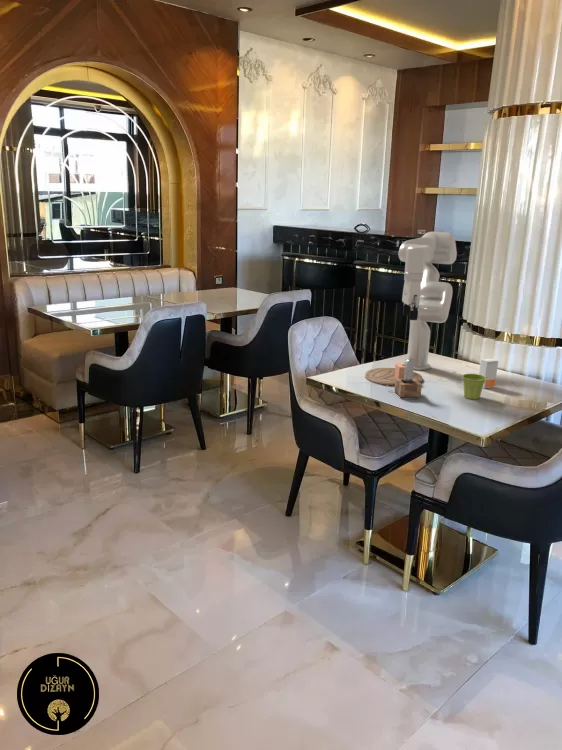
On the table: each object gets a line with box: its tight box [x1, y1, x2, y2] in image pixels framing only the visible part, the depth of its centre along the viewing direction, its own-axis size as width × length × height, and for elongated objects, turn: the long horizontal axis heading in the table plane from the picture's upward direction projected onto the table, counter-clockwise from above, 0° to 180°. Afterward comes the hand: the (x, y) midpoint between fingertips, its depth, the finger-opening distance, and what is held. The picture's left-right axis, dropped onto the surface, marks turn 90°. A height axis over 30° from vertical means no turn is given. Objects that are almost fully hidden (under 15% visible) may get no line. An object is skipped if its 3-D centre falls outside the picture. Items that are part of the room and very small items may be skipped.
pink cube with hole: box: [394, 363, 405, 379], centre depth 268 cm, size 6×6×6 cm
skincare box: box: [478, 357, 499, 389], centre depth 263 cm, size 6×4×12 cm
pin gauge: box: [404, 358, 414, 383], centre depth 248 cm, size 3×3×14 cm
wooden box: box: [394, 379, 423, 399], centre depth 249 cm, size 8×8×6 cm
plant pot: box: [461, 373, 486, 400], centre depth 249 cm, size 9×9×9 cm
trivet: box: [364, 367, 423, 387], centre depth 273 cm, size 25×25×2 cm
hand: (409, 317), depth 260 cm, fingers open, 9 cm apart
